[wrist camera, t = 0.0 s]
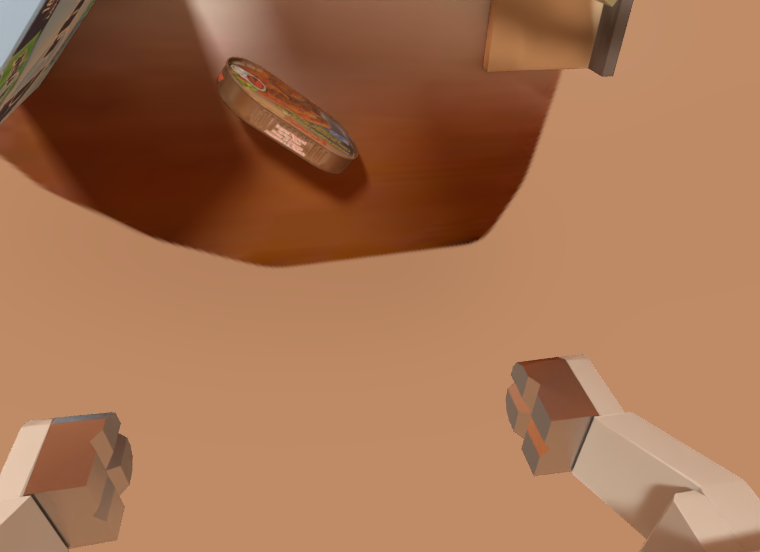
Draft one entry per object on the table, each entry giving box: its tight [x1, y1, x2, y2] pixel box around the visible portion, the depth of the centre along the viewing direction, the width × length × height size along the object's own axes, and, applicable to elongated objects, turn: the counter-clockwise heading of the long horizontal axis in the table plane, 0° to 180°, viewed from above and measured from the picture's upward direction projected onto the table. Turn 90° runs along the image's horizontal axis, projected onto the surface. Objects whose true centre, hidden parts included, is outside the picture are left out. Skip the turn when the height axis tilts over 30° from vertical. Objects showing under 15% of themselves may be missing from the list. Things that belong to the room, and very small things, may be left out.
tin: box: [217, 57, 359, 174], centre depth 52 cm, size 15×3×8 cm, turn 51°
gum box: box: [0, 0, 96, 125], centre depth 37 cm, size 20×5×23 cm, turn 135°
